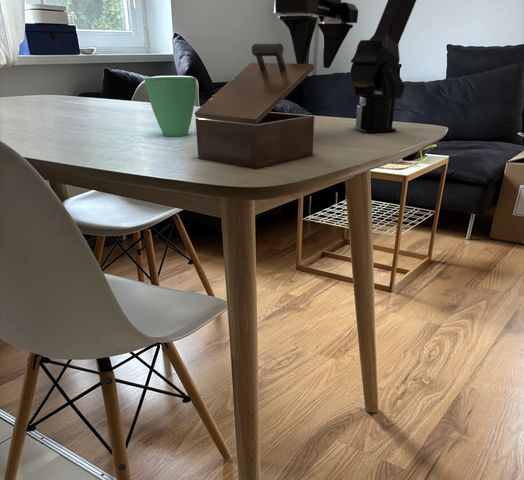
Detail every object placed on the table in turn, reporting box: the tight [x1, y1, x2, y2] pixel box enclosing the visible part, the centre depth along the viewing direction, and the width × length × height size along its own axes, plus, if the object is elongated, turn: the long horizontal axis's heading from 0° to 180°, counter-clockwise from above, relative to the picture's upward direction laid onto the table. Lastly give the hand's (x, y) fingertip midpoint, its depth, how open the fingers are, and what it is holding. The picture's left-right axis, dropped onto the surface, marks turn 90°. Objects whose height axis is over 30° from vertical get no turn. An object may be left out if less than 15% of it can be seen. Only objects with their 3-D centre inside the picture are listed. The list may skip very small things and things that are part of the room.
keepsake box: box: [195, 111, 315, 170], centre depth 80 cm, size 14×13×6 cm
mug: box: [144, 76, 197, 137], centre depth 102 cm, size 15×10×10 cm
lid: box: [193, 42, 315, 124], centre depth 75 cm, size 14×13×5 cm
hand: (313, 67), depth 90 cm, fingers open, 9 cm apart
